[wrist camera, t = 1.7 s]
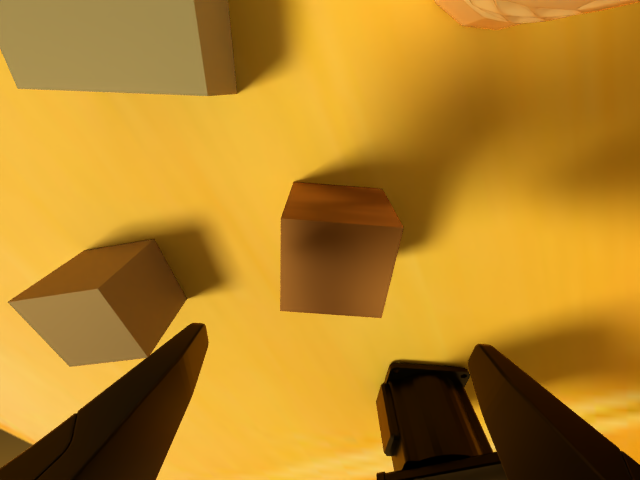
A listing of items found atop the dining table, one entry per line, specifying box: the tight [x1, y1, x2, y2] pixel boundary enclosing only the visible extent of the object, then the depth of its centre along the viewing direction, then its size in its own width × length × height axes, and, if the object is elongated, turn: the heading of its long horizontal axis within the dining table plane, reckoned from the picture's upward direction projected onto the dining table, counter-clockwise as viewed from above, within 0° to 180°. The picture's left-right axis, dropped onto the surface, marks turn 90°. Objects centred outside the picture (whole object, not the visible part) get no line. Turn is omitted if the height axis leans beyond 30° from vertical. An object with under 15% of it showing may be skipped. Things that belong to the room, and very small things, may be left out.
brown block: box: [8, 239, 187, 367], centre depth 17 cm, size 5×5×5 cm
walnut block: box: [280, 182, 404, 318], centre depth 15 cm, size 5×5×5 cm
